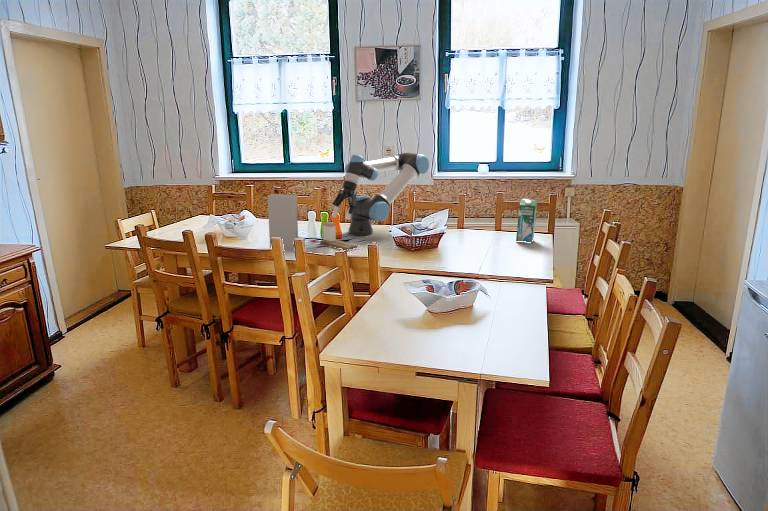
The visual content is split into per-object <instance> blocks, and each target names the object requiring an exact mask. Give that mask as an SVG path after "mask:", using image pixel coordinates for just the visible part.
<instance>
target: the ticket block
mask: <svg viewBox="0 0 768 511" xmlns="http://www.w3.org/2000/svg"><path fill="white" fill-rule="evenodd" d="M319 241H320V242H319V244H320V245H322V246H327V247H329V246H331V247H330V248H333V247H336V248H335V249H337V248H342V249H343V250H342V251H344V250H347V249H348V250H349V249H353V248H357V247H358V248H359V244H355V243H351V242H348V241H343V240H339V239H336V240H335V241H331V242H330V241H327V240H323V239H322V240H321V239H320V240H319Z"/></svg>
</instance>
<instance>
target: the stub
mask: <svg viewBox="0 0 768 511" xmlns="http://www.w3.org/2000/svg"><path fill="white" fill-rule="evenodd" d="M336 224H337V223H336V222H332V221H330V220H329V221H325V222H322V226H323V227H322V229H323V232H322V233H323V239H322V240H327V241H330V242H331V241H335V240H337V239H336V238H337V233H336V232H337V231H336V226H337V225H336Z"/></svg>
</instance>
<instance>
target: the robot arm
mask: <svg viewBox="0 0 768 511" xmlns="http://www.w3.org/2000/svg"><path fill="white" fill-rule="evenodd" d="M429 167H430V160H429V158H428V156H426V155H425V154H422V153H413V152H404V153H403V152H402V153H398V154H394V155H392V154H391V155H390V156H389V157H385V158H379V159H372V160H365V158H364V157H363V156H362V155H359V154H352V155H351V157H350V159H349V161H348V162H347V163H346V164H345V167H344V172H345V177H344V181H343V184H342V188H343V189H341V188H340V189H339V191H338V194H336V196H335V198H334V200H333V202H332V205H333V209H332V213H331V217H332V218H334V219H337V216H338V212H339V209H340V205H341V204H342V202H344V200H346V199H347V202H348V205H349V206H348V207H347V211H346V214H345V218H344V219H345V220H348V221H350V220H351V221H350V224H349V228H348V234H349V235H352V234H353V235H352V236H369V235H373V232H374V230H373V227H372V223H371V220H372V221H375V222H382V221H385V220H386V219H387V218H388V217H389V215H390V212H391V211H390V210H391V204H392V203H393V202H394V200H396V198H397V197H398V196H399V195H400V194H401V192H403V190H404V189H405V188H406V187H407V186H408V185H409V184H410V183H411V181H412V180H413V179H417V178H418V177H419V176H420V175H423V174H426V173H427V172H428V171H429V169H430V168H429ZM390 170H392V171H400V172H399V173H398V174H397V175H396V176H394V178H393V179H392V180H391V181H390V182H389V183H388V184H387V186H386V187H385V188H384V189H383V190H382V191H381V192H380V193H379V194H375V196H374V197H373V198H371V196H370V195H359V196H358V195H357V194H358V192H357V191H356V189H357V186H358V185H357V184H358V183H359V180H360V178H361V179H362V178H363V179H366V180H370V181H372V182H373V181H375V180H376V179H377V178H378V175H379V173H380V172H385V171H390Z"/></svg>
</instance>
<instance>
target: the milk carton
mask: <svg viewBox="0 0 768 511" xmlns="http://www.w3.org/2000/svg"><path fill="white" fill-rule="evenodd" d="M518 207H519V208H518V217H517V228H516V229H517V230H516V237H515V238H516V240H515V242H516V241H526V242H532V240H533V241H534V239H533V238H534V237H535V227H536V218H537V209H538V199H531V198H521V199H520V202H519V205H518ZM532 243H533V242H532Z"/></svg>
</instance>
